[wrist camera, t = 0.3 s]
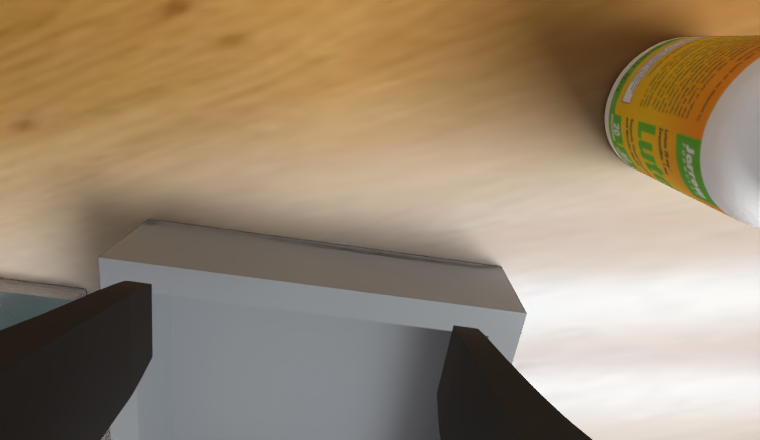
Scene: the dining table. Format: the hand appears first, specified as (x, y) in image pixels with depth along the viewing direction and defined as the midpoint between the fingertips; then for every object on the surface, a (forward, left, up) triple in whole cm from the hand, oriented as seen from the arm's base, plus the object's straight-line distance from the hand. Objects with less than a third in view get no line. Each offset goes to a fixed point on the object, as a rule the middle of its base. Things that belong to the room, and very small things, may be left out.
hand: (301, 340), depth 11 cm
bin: (-10, 0, -10) cm, 14 cm away
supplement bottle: (+6, -13, -10) cm, 18 cm away
